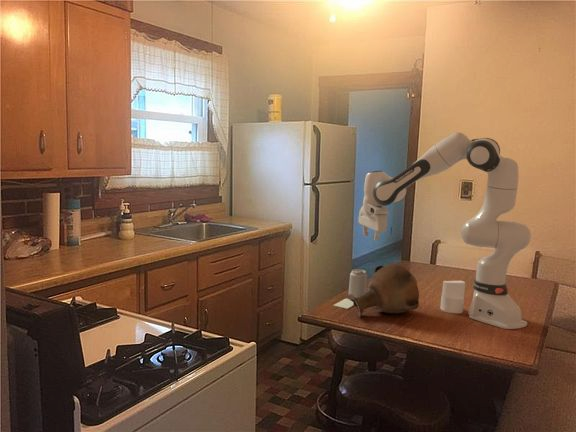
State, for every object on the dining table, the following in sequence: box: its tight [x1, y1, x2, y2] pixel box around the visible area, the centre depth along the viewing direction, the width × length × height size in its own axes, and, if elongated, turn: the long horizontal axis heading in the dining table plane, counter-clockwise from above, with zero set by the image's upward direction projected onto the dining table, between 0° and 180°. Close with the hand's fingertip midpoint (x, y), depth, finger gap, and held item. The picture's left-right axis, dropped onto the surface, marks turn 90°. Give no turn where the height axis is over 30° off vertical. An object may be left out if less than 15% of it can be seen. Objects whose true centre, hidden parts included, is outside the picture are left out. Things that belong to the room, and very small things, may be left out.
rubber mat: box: [332, 298, 354, 310], centre depth 209 cm, size 12×6×1 cm, turn 149°
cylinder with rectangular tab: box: [440, 280, 466, 314], centre depth 209 cm, size 9×9×12 cm
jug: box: [347, 263, 420, 318], centre depth 199 cm, size 20×20×30 cm
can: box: [348, 269, 368, 298], centre depth 219 cm, size 8×8×12 cm
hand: (370, 237), depth 224 cm, fingers open, 8 cm apart
